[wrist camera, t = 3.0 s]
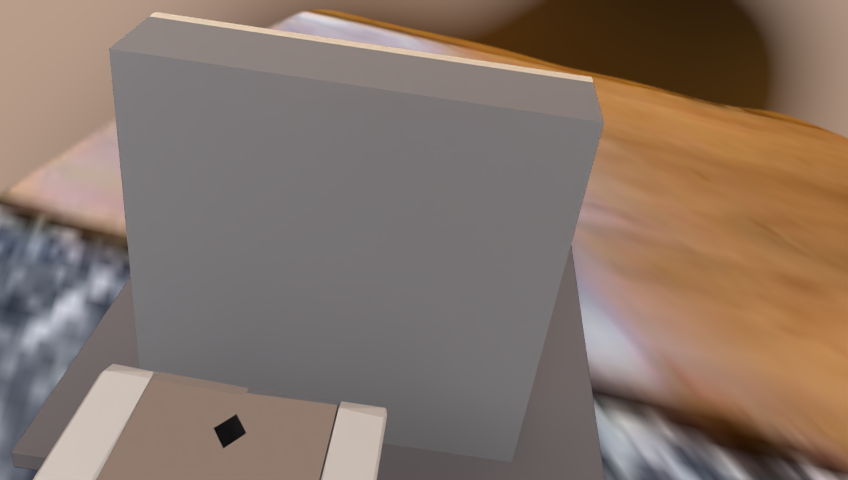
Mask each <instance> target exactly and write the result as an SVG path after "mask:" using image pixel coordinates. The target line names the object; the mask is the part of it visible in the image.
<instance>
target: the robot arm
mask: <svg viewBox="0 0 848 480" xmlns="http://www.w3.org/2000/svg"><path fill="white" fill-rule="evenodd" d="M386 419H387V410H386V408H383V407H377V406H370V405H363V404H356V403H350V402H343V401H341V403H340V401H335V400H329V399H322V398H315V397H309V396H302V395H295V394H289V393H282V392H276V391H269V390H262V389H256V388H246V387H240V386H235V385H230V384H224V383H219V382H213V381H208V380H203V379H197V378H192V377H187V376H181V375H176V374H170V373H165V372H154V371H149V370H143V369H138V368H133V367H128V366H123V365H117V364H112V365H111V366H109V367H108V368H107V369H105V370H104V371H103V372H102V373H100V375H99V376H98V378H97V380H96V381H95V383H94V384H93V386H92V387H91V389H90V391H89V392H88V394H87V395H86V397H85V398H84V400H83V402H82V403H81V405H80V406H79V408H78V409H77V411H76V413H75V414H74V416H73V417H72V419H71V420H70V422H69V424H68V425H67V427H66V428H65V430H64V431H63V433H62V435H61V436H60V438H59V439H58V441H57V442H56V444H55V446H54V447H53V449H52V450H51V452H50V453H49V455H48V457H47V458H46V460H45V461H44V463H43V464H42V466H41V468H40V469H39V471H38V472H37V474H36V475H35V477H34V479H33V480H377V474H378V468H379V462H380V456H381V450H382V443H383V437H384V431H385V425H386Z"/></svg>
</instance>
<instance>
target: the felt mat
mask: <svg viewBox="0 0 848 480" xmlns="http://www.w3.org/2000/svg"><path fill="white" fill-rule="evenodd" d="M112 364H117V365H123V366H128V367H133V368H138V369H139V358H138V347H137V337H136V326H135V316H134V305H133V295H132V284H131V277H130V278H129V280H128V281H127V283H126V284H125V286H124V287H123V289H122V290H121V292H120V293H119V294H118V296H117V297H116V299H115V300H114V302H113V303H112V305H111V306H110V308H109V309H108V311H107V312H106V314H105V315H104V317H103V318H102V319H101V321H100V322H99V324H98V325H97V327H96V328H95V330H94V331H93V333H92V334H91V336H90V337H89V339H88V340H87V341H86V343H85V344H84V346H83V347H82V349H81V350H80V352H79V353H78V355H77V356H76V358H75V359H74V361H73V362H72V364H71V365H70V366H69V368H68V369H67V371H66V372H65V374H64V375H63V377H62V378H61V380H60V381H59V383H58V384H57V386H56V387H55V389H54V390H53V391H52V393H51V394H50V396H49V397H48V399H47V400H46V402H45V403H44V405H43V406H42V408H41V409H40V411H39V412H38V413H37V415H36V416H35V418H34V419H33V421H32V422H31V424H30V425H29V427H28V428H27V430H26V431H25V433H24V434H23V436H22V437H21V438H20V440H19V441H18V443H17V444H16V446H15V447H14V449H13V450H12V452H11V456H12V461H13V465H14V467H20V468H27V469H33V470H39V469H40V468H41V466H42V464H43V463H44V461H45V460H46V458H47V457H48V455H49V453H50V452H51V450H52V449H53V447H54V446H55V444H56V442H57V441H58V439H59V438H60V436H61V435H62V433H63V431H64V430H65V428H66V427H67V425H68V424H69V422H70V420H71V419H72V417H73V416H74V414H75V413H76V411H77V409H78V408H79V406H80V405H81V403H82V402H83V400H84V398H85V397H86V395H87V394H88V392H89V391H90V389H91V387H92V386H93V384H94V383H95V381H96V380H97V378H98V376H99V375H100V373H102V372H103V371H104V370H105V369H107V368H108V367H109V366H111V365H112ZM377 480H605V479H604V472H603V465H602V458H601V451H600V444H599V437H598V430H597V423H596V416H595V409H594V402H593V395H592V388H591V381H590V374H589V367H588V360H587V353H586V346H585V339H584V332H583V325H582V318H581V311H580V304H579V296H578V289H577V282H576V275H575V268H574V261H573V254H572V247H571V246H570V250H569V253H568V257H567V261H566V265H565V268H564V272H563V276H562V279H561V283H560V287H559V290H558V294H557V298H556V301H555V305H554V309H553V312H552V316H551V320H550V324H549V327H548V331H547V335H546V338H545V342H544V346H543V349H542V353H541V357H540V360H539V364H538V368H537V372H536V375H535V379H534V383H533V386H532V390H531V394H530V397H529V401H528V405H527V408H526V412H525V416H524V419H523V423H522V427H521V431H520V434H519V438H518V442H517V445H516V449H515V453H514V456H513V460H512V462H506V461H500V460H493V459H486V458H479V457H473V456H466V455H459V454H453V453H446V452H439V451H432V450H426V449H419V448H412V447H406V446H399V445H392V444H385V443H382V450H381V456H380V462H379V468H378V474H377Z"/></svg>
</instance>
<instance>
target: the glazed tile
mask: <svg viewBox="0 0 848 480" xmlns="http://www.w3.org/2000/svg"><path fill="white" fill-rule="evenodd" d="M109 51H110V62H111V72H112V83H113V94H114V104H115V115H116V125H117V136H118V146H119V157H120V168H121V178H122V189H123V199H124V210H125V221H126V231H127V242H128V252H129V263H130V273H131V284H132V295H133V305H134V316H135V326H136V337H137V347H138V358H139V369H143V370H149V371H154V372H165V373H170V374H176V375H181V376H187V377H192V378H197V379H203V380H208V381H213V382H219V383H224V384H230V385H235V386H240V387H246V388H256V389H262V390H269V391H276V392H282V393H289V394H295V395H302V396H309V397H315V398H322V399H329V400H335V401H340V403H341V401H343V402H350V403H356V404H363V405H370V406H377V407H383V408H386V410H387V419H386V425H385V431H384V437H383V443H385V444H392V445H399V446H406V447H412V448H419V449H426V450H432V451H439V452H446V453H453V454H459V455H466V456H473V457H479V458H486V459H493V460H500V461H506V462H512V460H513V456H514V453H515V449H516V445H517V442H518V438H519V434H520V431H521V427H522V423H523V419H524V416H525V412H526V408H527V405H528V401H529V397H530V394H531V390H532V386H533V383H534V379H535V375H536V372H537V368H538V364H539V360H540V357H541V353H542V349H543V346H544V342H545V338H546V335H547V331H548V327H549V324H550V320H551V316H552V312H553V309H554V305H555V301H556V298H557V294H558V290H559V287H560V283H561V279H562V276H563V272H564V268H565V265H566V261H567V257H568V253H569V250H570V246H571V242H572V239H573V235H574V231H575V228H576V224H577V220H578V217H579V213H580V209H581V206H582V202H583V198H584V194H585V191H586V187H587V183H588V180H589V176H590V172H591V169H592V165H593V161H594V158H595V154H596V150H597V147H598V143H599V139H600V135H601V132H602V128H603V124H604V120H603V117H602V113H601V109H600V106H599V102H598V98H597V95H596V91H595V87H594V84H593V80H592V77H588V76H581V75H574V74H568V73H561V72H554V71H547V70H541V69H534V68H527V67H521V66H514V65H507V64H501V63H494V62H487V61H480V60H474V59H467V58H460V57H454V56H447V55H440V54H433V53H427V52H420V51H413V50H407V49H400V48H393V47H387V46H380V45H373V44H366V43H360V42H353V41H346V40H340V39H333V38H326V37H319V36H313V35H306V34H299V33H293V32H286V31H279V30H273V29H266V28H259V27H252V26H246V25H239V24H232V23H226V22H219V21H212V20H205V19H199V18H192V17H185V16H179V15H172V14H165V13H158V12H154V13H153V14H152V15H151V16H150V17H148V18H147V19H146V20H144V21H143V22H142V23H141V24H139V25H138V26H137V27H136V28H135V29H133V30H132V31H131V32H130V33H128V34H127V35H126V36H124V37H123V38H122V39H121V40H119V41H118V42H117V43H116V44H114V45H113V46H112V47H111V48H109Z"/></svg>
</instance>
